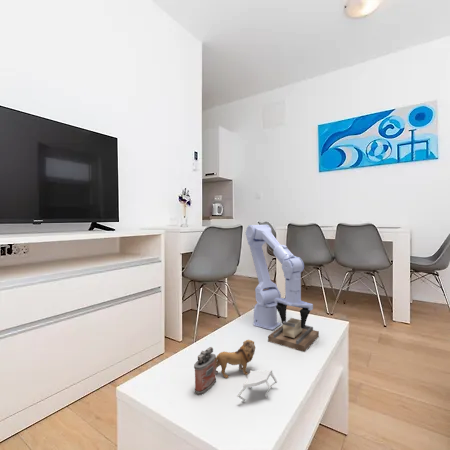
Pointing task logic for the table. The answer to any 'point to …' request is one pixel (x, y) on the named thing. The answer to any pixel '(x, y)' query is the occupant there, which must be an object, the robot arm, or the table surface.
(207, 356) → the lighter
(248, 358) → the lion figurine
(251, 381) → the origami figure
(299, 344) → the dock
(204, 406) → the table surface
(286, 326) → the beige lidded box
